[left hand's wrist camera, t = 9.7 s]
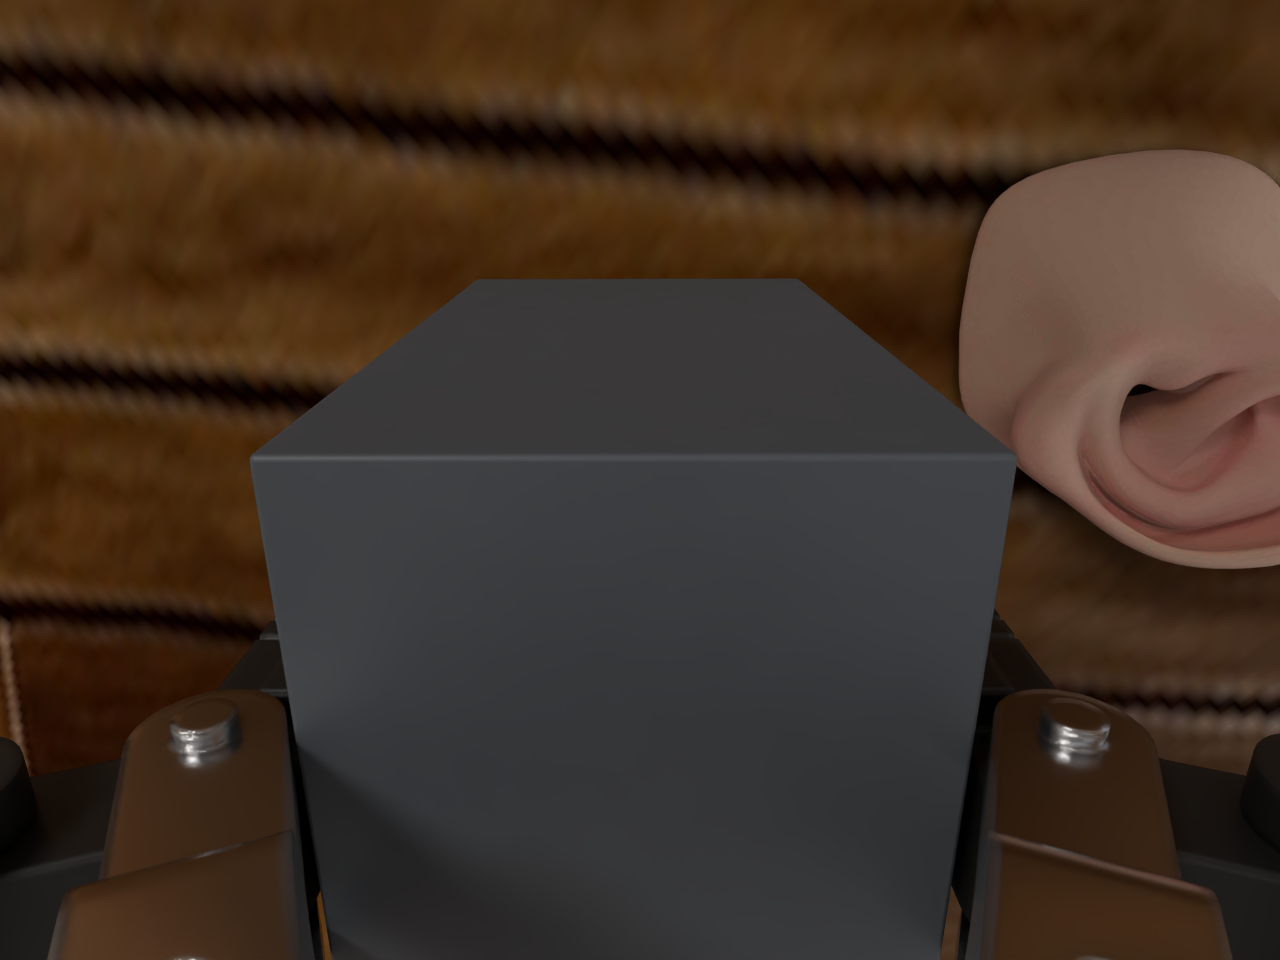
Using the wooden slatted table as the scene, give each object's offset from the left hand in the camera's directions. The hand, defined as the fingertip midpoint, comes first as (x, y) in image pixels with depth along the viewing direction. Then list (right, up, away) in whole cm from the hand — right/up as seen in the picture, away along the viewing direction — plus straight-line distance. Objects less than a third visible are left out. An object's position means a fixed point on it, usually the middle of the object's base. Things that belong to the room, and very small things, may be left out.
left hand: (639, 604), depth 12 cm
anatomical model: (+16, +6, +16) cm, 23 cm away
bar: (0, -6, +8) cm, 10 cm away
